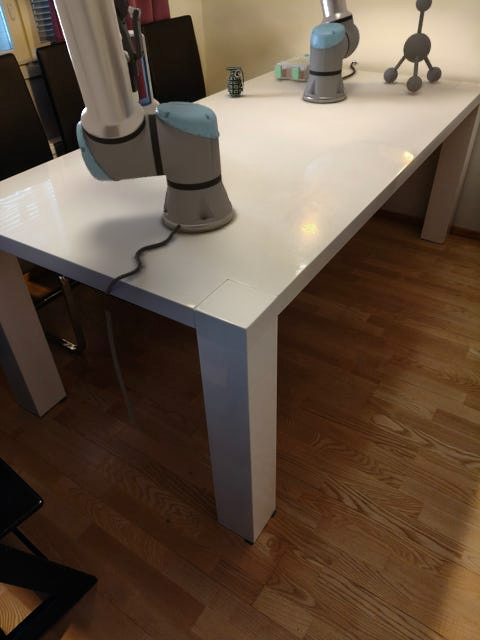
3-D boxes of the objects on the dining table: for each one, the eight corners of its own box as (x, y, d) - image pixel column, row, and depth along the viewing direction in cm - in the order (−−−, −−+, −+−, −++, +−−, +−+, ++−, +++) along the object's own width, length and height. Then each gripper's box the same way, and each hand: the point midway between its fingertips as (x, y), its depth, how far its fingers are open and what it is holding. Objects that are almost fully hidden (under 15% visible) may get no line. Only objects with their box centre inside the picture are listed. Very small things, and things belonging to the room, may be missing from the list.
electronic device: (128, 152, 143) (106, 36, 125) (126, 144, 149) (105, 32, 131) (170, 146, 146) (154, 31, 127) (166, 139, 151) (151, 28, 133)
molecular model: (460, 87, 184) (480, -8, 165) (411, 95, 178) (426, -3, 159) (420, 76, 201) (434, -12, 183) (374, 83, 195) (384, -7, 177)
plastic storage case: (297, 52, 222) (336, 55, 212) (296, 67, 226) (335, 71, 216) (266, 63, 206) (307, 66, 196) (266, 79, 210) (307, 83, 200)
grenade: (225, 97, 189) (224, 69, 182) (229, 93, 193) (228, 66, 187) (242, 97, 187) (241, 69, 181) (245, 94, 192) (244, 66, 185)
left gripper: (147, -28, 108) (163, 86, 122) (72, -24, 109) (96, 88, 124) (139, -26, 102) (156, 94, 116) (59, -22, 103) (86, 96, 118)
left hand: (125, 91), depth 120 cm, fingers closed on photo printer, 4 cm apart
